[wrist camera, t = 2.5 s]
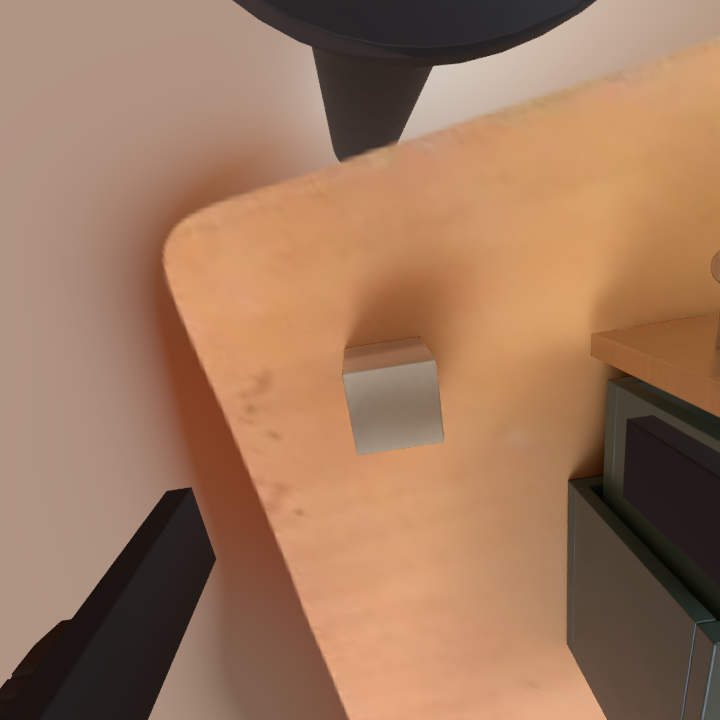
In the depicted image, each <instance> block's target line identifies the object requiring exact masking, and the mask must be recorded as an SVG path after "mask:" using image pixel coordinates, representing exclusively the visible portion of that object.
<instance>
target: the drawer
mask: <svg viewBox="0 0 720 720" xmlns="http://www.w3.org/2000/svg"><path fill="white" fill-rule="evenodd" d="M711 272H712V275H713V277H714V279H715V280H716V281H717V282H719V283H720V251H718V252H717V253H716V255H715V256H714V258H713V260H712V263H711ZM591 356H593V357H595V358H597V359H599V360H601V361H603V362H605V363H607V364H610V365H612V366H614V367H616V368H618V369H620V370H622V371H624V372H626V373H628V374H630V375H632V376H630V377H623V378H617V379H611V380H608V381H607V404H606V428H605V452H604V477H603V502H604V503H605V504H606V505H607V506H608V507H609V508H610V509H611V510H612V511H613V512H614V513H615V515H616V516H617V517H618V518H619V519H620V520H621V521H622V522H623V523H624V524H625V525H626V526H627V527H628V528H629V529H630V530H631V531H632V532H633V533H634V534H635V535H636V536H637V537H638V538H639V540H640V541H641V542H642V543H643V544H644V545H645V546H646V547H647V548H648V549H649V550H650V551H651V552H652V553H653V554H654V555H655V556H656V557H657V558H658V559H659V560H660V561H661V562H662V563H663V565H664V566H665V567H666V568H667V569H668V570H669V571H670V572H671V573H672V574H673V575H674V576H675V577H676V578H677V579H678V580H679V581H680V582H681V583H682V584H683V585H684V586H685V587H686V588H687V590H688V591H689V592H690V593H691V594H692V595H693V596H694V597H695V598H696V599H697V600H698V601H699V602H700V603H701V604H702V605H703V606H704V607H705V608H706V609H707V610H708V611H709V612H710V614H711V615H712V616H713V617H714V618H715V619H716V621H720V587H719V586H717V585H716V584H715V583H714V582H713V581H712V580H711V579H710V578H709V577H708V576H707V575H706V574H705V573H703V572H702V571H701V570H700V569H699V568H698V567H697V566H696V565H695V564H694V563H693V562H692V561H691V560H690V559H688V558H687V557H686V556H685V555H684V554H683V553H682V552H681V551H680V550H679V549H678V548H677V547H676V546H674V545H673V544H672V543H671V542H670V541H669V540H668V539H667V538H666V537H665V536H664V535H663V534H662V533H660V532H659V531H658V530H657V529H656V528H655V527H654V526H653V525H652V524H651V523H650V522H649V521H648V520H647V519H645V518H644V517H643V516H642V515H641V514H640V513H639V512H638V511H637V510H636V509H635V508H634V507H633V506H631V505H630V504H629V503H628V502H627V501H626V500H625V499H624V498H623V479H624V460H625V440H626V421H627V419H629V418H636V417H642V416H649V415H654V416H656V417H657V418H659V419H661V420H663V421H665V422H666V423H668V424H670V425H672V426H673V427H675V428H677V429H679V430H680V431H682V432H684V433H686V434H688V435H689V436H691V437H693V438H695V439H696V440H698V441H700V442H702V443H703V444H705V445H707V446H709V447H711V448H712V449H714V450H716V451H718V452H719V453H720V313H717V314H711V315H704V316H698V317H692V318H686V319H679V320H673V321H667V322H660V323H654V324H648V325H642V326H635V327H629V328H623V329H616V330H610V331H604V332H598V333H592V334H591Z"/></svg>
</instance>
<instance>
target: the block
mask: <svg viewBox="0 0 720 720" xmlns="http://www.w3.org/2000/svg"><path fill="white" fill-rule="evenodd" d="M342 377H343V382H344V387H345V393H346V398H347V403H348V409H349V414H350V419H351V425H352V430H353V436H354V441H355V446H356V452H357V455H364V454H370V453H377V452H383V451H390V450H396V449H403V448H410V447H416V446H423V445H429V444H436V443H442V442H444V432H443V423H442V413H441V403H440V394H439V384H438V375H437V365H436V360H435V358H434V357H433V355H432V354H431V352H430V351H429V349H428V348H427V347H426V345H425V344H424V342H423V341H422V339H421V338H420V337H413V338H407V339H401V340H395V341H388V342H382V343H376V344H370V345H364V346H357V347H351V348H345V349H344V358H343V372H342Z"/></svg>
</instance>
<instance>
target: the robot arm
mask: <svg viewBox="0 0 720 720" xmlns="http://www.w3.org/2000/svg"><path fill="white" fill-rule="evenodd" d="M623 498H624V499H625V500H626V501H627V502H628V503H629V504H630V505H631V506H633V507H634V508H635V509H636V510H637V511H638V512H639V513H640V514H641V515H642V516H643V517H644V518H645V519H647V520H648V521H649V522H650V523H651V524H652V525H653V526H654V527H655V528H656V529H657V530H658V531H659V532H660V533H662V534H663V535H664V536H665V537H666V538H667V539H668V540H669V541H670V542H671V543H672V544H673V545H674V546H676V547H677V548H678V549H679V550H680V551H681V552H682V553H683V554H684V555H685V556H686V557H687V558H688V559H690V560H691V561H692V562H693V563H694V564H695V565H696V566H697V567H698V568H699V569H700V570H701V571H702V572H703V573H705V574H706V575H707V576H708V577H709V578H710V579H711V580H712V581H713V582H714V583H715V584H716V585H717V586H719V587H720V453H719V452H718V451H716V450H714V449H712V448H711V447H709V446H707V445H705V444H703V443H702V442H700V441H698V440H696V439H695V438H693V437H691V436H689V435H688V434H686V433H684V432H682V431H680V430H679V429H677V428H675V427H673V426H672V425H670V424H668V423H666V422H665V421H663V420H661V419H659V418H657V417H656V416H654V415H649V416H642V417H636V418H629V419H627V421H626V440H625V460H624V479H623ZM215 561H216V557H215V554H214V551H213V548H212V546H211V543H210V540H209V537H208V534H207V531H206V528H205V525H204V522H203V520H202V517H201V514H200V511H199V508H198V505H197V502H196V499H195V496H194V494H193V491H192V488H191V487H190V488H183V489H177V490H171V491H166V493H165V494H164V495H163V497H162V498H161V499H160V501H159V502H158V503H157V505H156V506H155V508H154V509H153V510H152V512H151V513H150V514H149V516H148V517H147V518H146V520H145V521H144V522H143V524H142V525H141V526H140V528H139V529H138V530H137V532H136V533H135V534H134V536H133V537H132V539H131V540H130V541H129V543H128V544H127V545H126V547H125V548H124V549H123V551H122V552H121V554H120V555H119V556H118V557H117V559H116V560H115V561H114V563H113V564H112V565H111V567H110V568H109V570H108V571H107V572H106V574H105V575H104V576H103V578H102V579H101V580H100V582H99V583H98V584H97V586H96V587H95V589H94V590H93V591H92V593H91V594H90V595H89V597H88V598H87V599H86V601H85V602H84V603H83V605H82V606H81V607H80V609H79V610H78V611H77V613H76V614H75V615H74V617H73V618H72V619H70V620H63V621H61V622H60V623H58V624H57V625H56V626H55V627H54V628H53V629H52V630H51V631H50V632H48V633H47V634H46V635H45V636H44V637H43V638H42V639H41V640H40V641H39V642H37V643H36V645H34V646H33V648H32V649H31V650H30V651H29V653H28V654H27V655H26V656H25V658H24V659H23V660H22V661H21V663H20V664H19V665H18V667H17V668H16V669H15V671H14V672H13V673H12V677H11V679H8V680H7V681H6V682H5V683H4V684H3V686H2V687H1V688H0V720H148V718H149V716H150V713H151V711H152V709H153V706H154V704H155V702H156V699H157V697H158V695H159V692H160V690H161V688H162V685H163V683H164V680H165V678H166V676H167V673H168V671H169V669H170V666H171V664H172V662H173V659H174V657H175V655H176V652H177V650H178V648H179V645H180V643H181V641H182V638H183V636H184V634H185V631H186V629H187V626H188V624H189V622H190V619H191V617H192V615H193V612H194V610H195V608H196V605H197V603H198V601H199V598H200V596H201V594H202V591H203V589H204V586H205V584H206V582H207V579H208V577H209V574H210V572H211V570H212V568H213V565H214V563H215Z"/></svg>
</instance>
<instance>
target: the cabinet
mask: <svg viewBox="0 0 720 720" xmlns="http://www.w3.org/2000/svg"><path fill="white" fill-rule="evenodd" d="M603 477H604V475H602V476H595V477H589V478H582V479H575V480H569V481H568V561H567V645H568V647H569V649H570V650H571V652H572V654H573V656H574V658H575V660H576V662H577V664H578V666H579V668H580V670H581V671H582V673H583V675H584V677H585V679H586V681H587V683H588V685H589V686H590V688H591V690H592V692H593V694H594V696H595V698H596V700H597V701H598V703H599V705H600V707H601V709H602V711H603V713H604V715H605V717H606V718H607V720H720V621H716V619H715V618H714V617H713V616H712V615H711V614H710V612H709V611H708V610H707V609H706V608H705V607H704V606H703V605H702V604H701V603H700V602H699V601H698V600H697V599H696V598H695V597H694V596H693V595H692V594H691V593H690V592H689V591H688V590H687V588H686V587H685V586H684V585H683V584H682V583H681V582H680V581H679V580H678V579H677V578H676V577H675V576H674V575H673V574H672V573H671V572H670V571H669V570H668V569H667V568H666V567H665V566H664V565H663V563H662V562H661V561H660V560H659V559H658V558H657V557H656V556H655V555H654V554H653V553H652V552H651V551H650V550H649V549H648V548H647V547H646V546H645V545H644V544H643V543H642V542H641V541H640V540H639V538H638V537H637V536H636V535H635V534H634V533H633V532H632V531H631V530H630V529H629V528H628V527H627V526H626V525H625V524H624V523H623V522H622V521H621V520H620V519H619V518H618V517H617V516H616V515H615V513H614V512H613V511H612V510H611V509H610V508H609V507H608V506H607V505H606V504H605V503H604V502H603Z"/></svg>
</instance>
